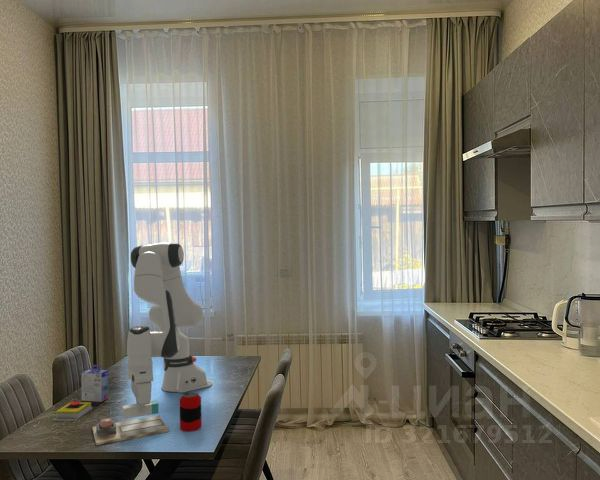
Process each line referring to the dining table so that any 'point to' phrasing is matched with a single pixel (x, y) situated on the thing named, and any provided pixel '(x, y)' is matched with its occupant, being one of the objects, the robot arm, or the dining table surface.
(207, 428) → the dining table surface
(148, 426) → the board
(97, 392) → the ink cartridge box
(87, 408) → the emergency button
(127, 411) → the marker
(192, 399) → the soda can
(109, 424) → the button
